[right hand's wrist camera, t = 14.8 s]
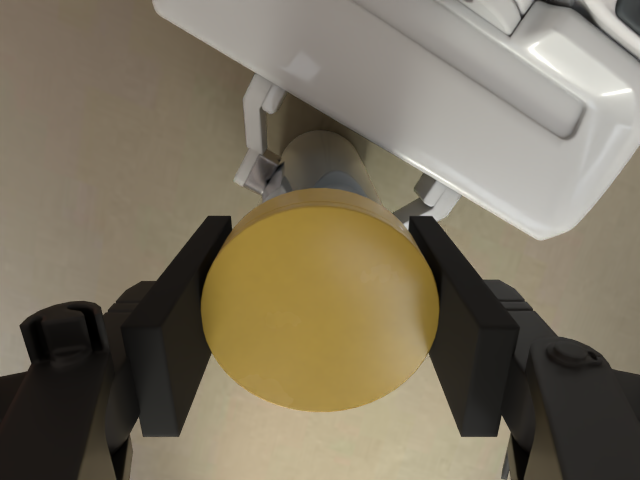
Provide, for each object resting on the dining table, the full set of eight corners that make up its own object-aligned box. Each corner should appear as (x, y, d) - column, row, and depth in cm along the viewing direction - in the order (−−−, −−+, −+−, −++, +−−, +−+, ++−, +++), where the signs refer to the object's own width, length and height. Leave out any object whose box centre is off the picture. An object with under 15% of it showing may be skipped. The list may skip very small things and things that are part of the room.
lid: (243, 157, 10) (230, 172, 9) (459, 225, 11) (481, 249, 10) (196, 345, 13) (179, 382, 11) (380, 392, 13) (388, 433, 12)
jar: (328, 111, 25) (343, 169, 9) (378, 181, 26) (458, 326, 11) (260, 164, 26) (176, 291, 11) (312, 228, 27) (302, 417, 12)
